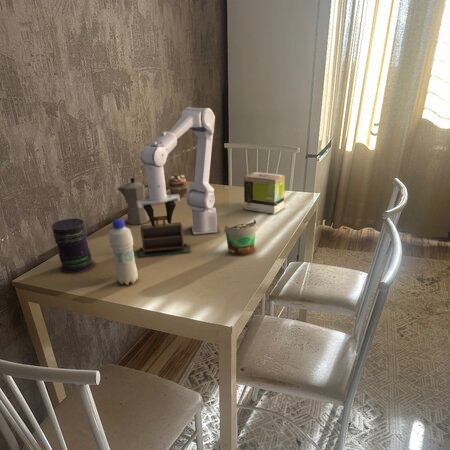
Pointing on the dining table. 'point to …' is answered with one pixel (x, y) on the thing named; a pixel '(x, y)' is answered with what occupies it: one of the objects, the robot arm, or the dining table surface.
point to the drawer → (162, 235)
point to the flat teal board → (163, 251)
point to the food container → (241, 238)
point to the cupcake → (178, 185)
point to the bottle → (123, 252)
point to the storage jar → (72, 245)
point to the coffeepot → (132, 195)
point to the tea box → (264, 192)
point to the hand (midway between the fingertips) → (161, 224)
